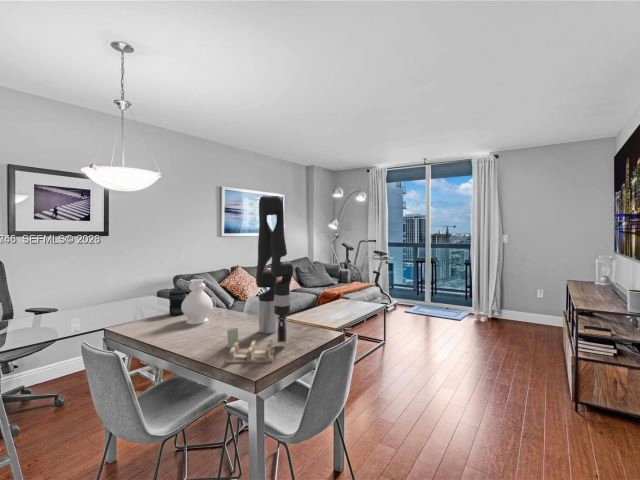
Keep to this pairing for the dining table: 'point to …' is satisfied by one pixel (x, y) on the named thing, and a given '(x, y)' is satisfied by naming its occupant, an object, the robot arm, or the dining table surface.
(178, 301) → the storage jar
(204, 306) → the decorative vase
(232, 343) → the sage plug
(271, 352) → the slot rack
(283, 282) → the robot arm
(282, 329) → the charcoal plug
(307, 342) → the dining table surface
